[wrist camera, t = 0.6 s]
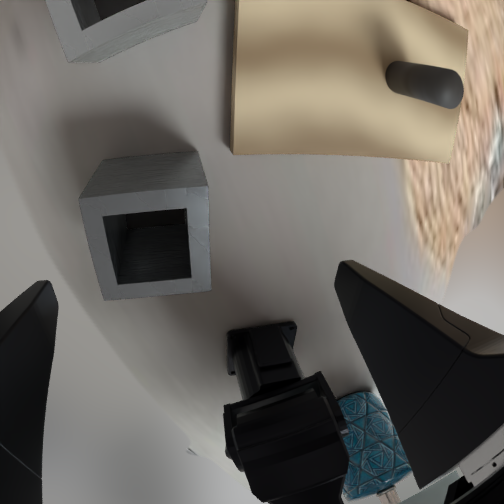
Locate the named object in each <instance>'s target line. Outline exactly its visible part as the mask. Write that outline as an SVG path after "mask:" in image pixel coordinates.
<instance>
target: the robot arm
mask: <svg viewBox="0 0 504 504" xmlns="http://www.w3.org/2000/svg"><path fill="white" fill-rule="evenodd" d="M334 287H335V290H336V293H337V296H338V299H339V301H340V304H341V307H342V310H343V313H344V315H345V318H346V321H347V324H348V326H349V328H350V331H351V333H352V335H353V337H354V339H355V341H356V343H357V345H358V348H359V350H360V352H361V354H362V356H363V358H364V360H365V362H366V365H367V367H368V369H369V371H370V373H371V376H372V378H373V380H374V382H375V384H376V387H377V389H378V391H379V393H380V396H381V398H382V400H383V402H384V405H385V407H386V409H387V411H388V414H389V416H390V418H391V421H392V423H393V425H394V428H395V430H396V432H397V434H398V438H399V440H400V442H401V445H402V447H403V450H404V452H405V455H406V457H407V459H408V462H409V464H410V467H411V469H412V472H413V475H414V477H415V480H416V482H417V485H418V487H419V489H422V488H424V487H426V486H428V485H429V484H431V483H433V482H435V481H436V480H438V479H439V478H441V477H443V476H445V475H446V474H448V473H450V472H451V471H453V470H454V469H456V468H457V467H460V469H461V471H462V473H463V474H464V476H462V477H461V478H459V479H458V480H456V481H455V482H453V483H452V484H450V485H449V486H448V490H447V494H446V497H445V500H444V504H504V335H502V334H499V333H497V332H495V331H493V330H491V329H488V328H487V327H484V326H482V325H480V324H478V323H476V322H474V321H471V320H469V319H467V318H465V317H463V316H460V315H459V314H457V313H455V312H453V311H451V310H449V309H447V308H445V307H443V306H442V305H440V304H437V303H436V302H434V301H432V300H430V299H428V298H426V297H424V296H422V295H421V294H419V293H417V292H415V291H413V290H411V289H409V288H407V287H405V286H403V285H401V284H399V283H397V282H395V281H393V280H391V279H389V278H387V277H385V276H383V275H381V274H379V273H377V272H375V271H373V270H371V269H369V268H367V267H365V266H363V265H361V264H359V263H357V262H355V261H353V260H346V261H341V262H340V263H339V266H338V270H337V274H336V278H335V282H334ZM57 317H58V301H57V298H56V295H55V293H54V290H53V287H52V284H51V283H50V281H48V280H44V281H37V282H36V283H34V284H33V285H32V286H31V287H29V288H28V289H27V290H26V291H25V292H23V293H22V294H21V295H19V296H18V297H17V298H16V299H15V300H14V301H12V302H11V303H10V304H9V305H8V306H6V307H5V308H4V309H3V310H2V311H1V312H0V504H42V479H41V478H42V451H43V434H44V422H45V412H46V403H47V395H48V387H49V380H50V374H51V368H52V361H53V356H54V347H55V337H56V327H57ZM296 330H297V325H296V323H295V322H287V323H281V324H274V325H268V326H261V327H254V328H247V329H239V330H232V331H229V332H228V333H227V371H228V374H229V375H236V376H237V380H238V383H239V387H240V391H241V395H242V399H243V400H242V401H239V402H236V403H233V404H230V403H229V404H226V405H224V413H223V418H224V429H225V439H226V448H225V453H226V456H227V457H228V458H230V459H232V460H233V462H234V463H235V465H236V467H237V468H238V470H239V471H241V472H245V474H246V477H247V480H248V482H249V485H250V488H251V491H252V493H253V495H255V496H256V497H257V498H258V499H259V500H260V501H261V502H263V503H264V502H268V503H269V504H344V503H343V501H342V498H341V494H342V490H343V486H344V482H345V478H346V475H347V472H348V466H349V459H350V456H349V453H348V450H347V448H346V445H345V443H344V440H343V437H346V436H348V435H349V430H348V427H347V424H346V421H345V418H344V415H343V413H342V411H341V408H340V406H339V404H338V402H337V400H336V398H335V397H334V395H333V393H332V391H331V389H330V387H329V386H328V384H327V382H326V380H325V378H324V376H323V375H322V373H321V371H319V372H317V373H315V374H314V375H312V376H309V377H307V378H304V376H303V374H302V371H301V369H300V366H299V364H298V362H297V359H296V357H295V355H294V352H293V345H294V340H295V335H296Z"/></svg>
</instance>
